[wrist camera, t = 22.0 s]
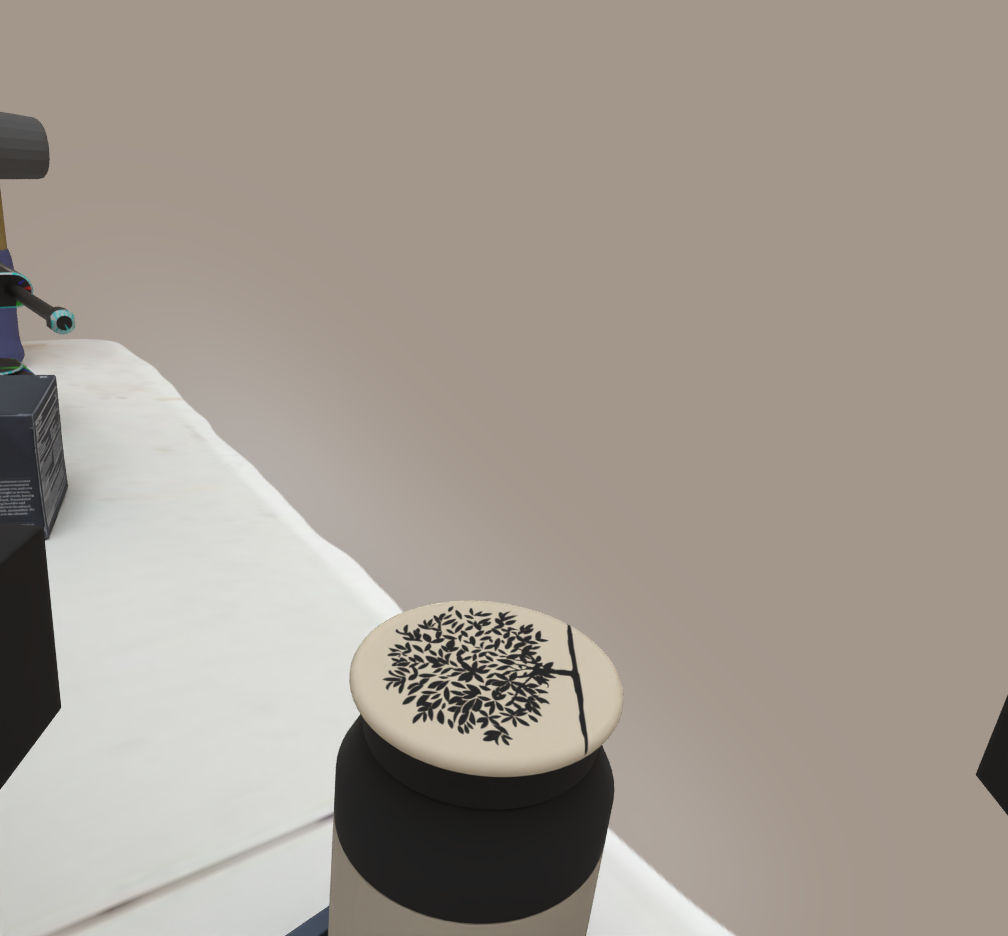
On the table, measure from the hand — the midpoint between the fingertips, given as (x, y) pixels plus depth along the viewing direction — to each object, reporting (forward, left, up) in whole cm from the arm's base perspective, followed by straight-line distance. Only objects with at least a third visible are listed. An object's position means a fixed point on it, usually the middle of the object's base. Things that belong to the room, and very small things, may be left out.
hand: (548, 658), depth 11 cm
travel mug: (-7, +7, -25) cm, 27 cm away
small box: (-64, +12, -26) cm, 70 cm away
